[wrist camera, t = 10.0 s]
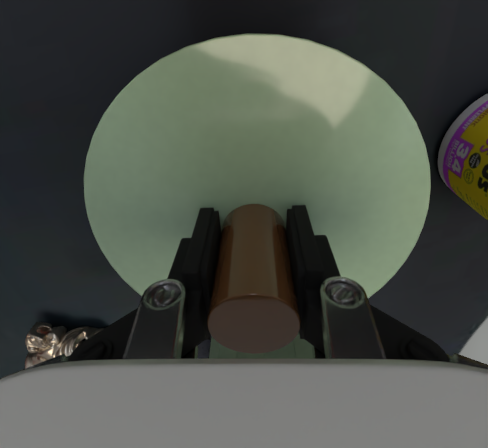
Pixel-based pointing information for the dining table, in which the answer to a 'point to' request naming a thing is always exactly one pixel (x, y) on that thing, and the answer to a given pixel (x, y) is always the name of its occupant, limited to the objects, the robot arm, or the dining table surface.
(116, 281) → the dining table surface
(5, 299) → the dining table surface
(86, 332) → the ornament
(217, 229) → the robot arm
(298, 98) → the pot lid
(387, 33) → the dining table surface
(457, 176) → the supplement bottle
